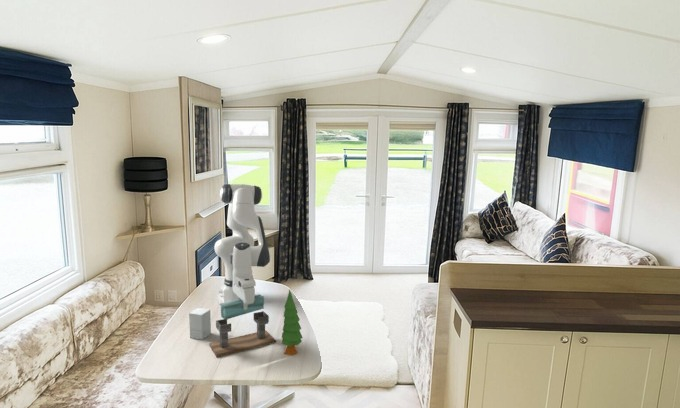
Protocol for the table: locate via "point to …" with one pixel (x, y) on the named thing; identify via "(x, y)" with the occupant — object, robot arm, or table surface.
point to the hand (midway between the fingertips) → (242, 307)
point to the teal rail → (241, 307)
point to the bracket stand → (241, 337)
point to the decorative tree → (291, 327)
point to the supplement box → (200, 323)
